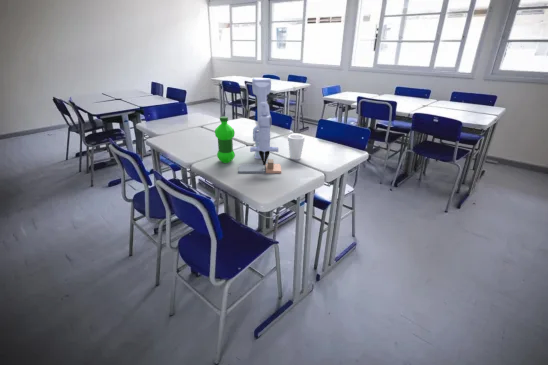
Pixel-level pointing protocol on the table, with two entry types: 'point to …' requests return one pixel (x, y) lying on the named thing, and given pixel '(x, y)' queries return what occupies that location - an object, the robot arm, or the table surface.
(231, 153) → the plastic bottle
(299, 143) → the foam cup
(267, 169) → the stub
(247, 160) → the table surface
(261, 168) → the board
